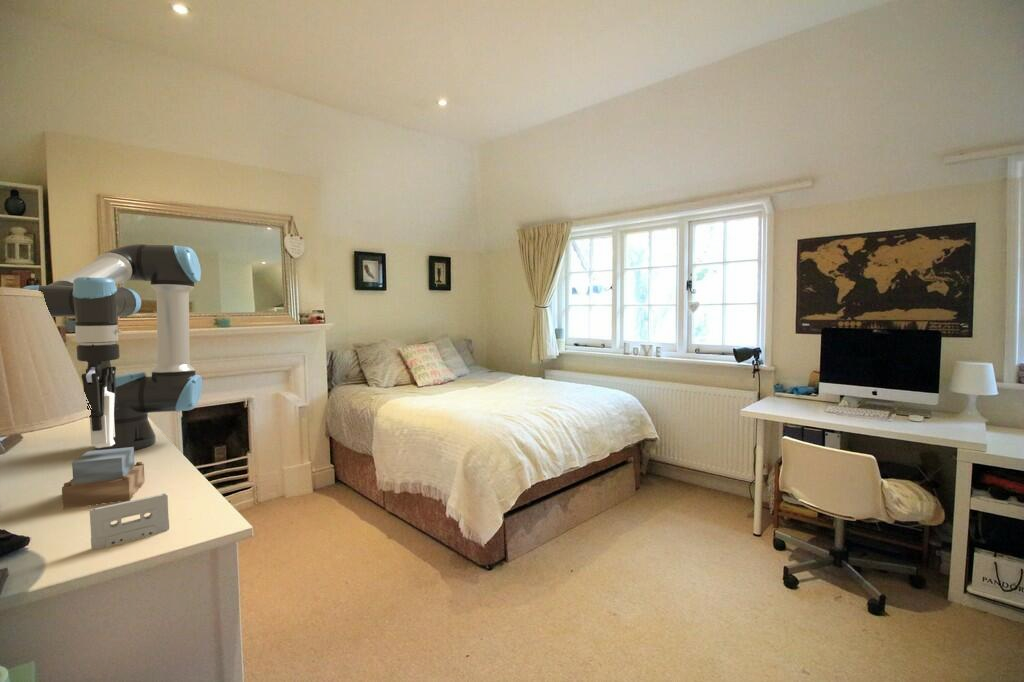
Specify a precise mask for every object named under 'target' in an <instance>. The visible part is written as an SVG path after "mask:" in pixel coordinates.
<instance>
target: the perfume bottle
mask: <svg viewBox="0 0 1024 682" xmlns="http://www.w3.org/2000/svg"><path fill="white" fill-rule="evenodd" d="M99 384H102V383H99ZM114 397H115V394H114V393H111V392H108V391H107V386H106V387H105V389H104V415H106V428H107V443H105V444H93V445H94V446H93V447H94V448H95V447H96V448H102V447H109V446H112V445H114V444H115V441H114V439H113V424H114ZM93 411H94V410H93ZM104 415H103V416H104Z"/></svg>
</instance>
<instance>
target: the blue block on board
mask: <svg viewBox="0 0 1024 682" xmlns="http://www.w3.org/2000/svg"><path fill="white" fill-rule="evenodd" d="M71 467H72V468H71V469H72V470H71V471H72V479H70V481H68V482H64V483H63V486H62V487H61V498H62V509H63V510H67V509H66V508H68V509H73V508H74V507H75V508H81V507H89V505H91V506H96V504H98V505H103V504H102V503H106V504H111V503H110V502H114V503H119V502H118V501H121V502H127V500H129V501H131V500H132V498H134V496H135V495H136V494H137V492H138V491H139V490H140V489H141V488H142V486H143V485H144V484H145V483H144V482H145V465H144V463H143V461H137V462H135V450H134V447H127V448H116V449H106V450H95V449H94V450H87V451H86V452H85V453H84V454H82V455H80V456H79V457H77V458H76V459H75V460H74V461H72V462H71ZM139 488H140V489H139ZM138 489H139V490H138ZM135 493H136V494H135ZM134 494H135V495H134ZM133 495H134V496H133ZM130 499H131V500H130ZM75 508H74V509H75Z"/></svg>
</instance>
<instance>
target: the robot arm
mask: <svg viewBox="0 0 1024 682" xmlns="http://www.w3.org/2000/svg"><path fill="white" fill-rule="evenodd" d="M201 278H202V270H201V264H200V261H199V258H198V256H197V254H196V252H195V250H193V248H191V247H189V246H181V245H176V244H175V245H170V244H169V245H167V244H166V245H165V244H143V243H140V244H139V243H137V244H135V243H134V244H128V245H123V246H120V247H116V248H113V249H110V250H107V251H104V252H103V253H101V254H99V255H98V256H96V257H95V259H94V260H93V262H91V263H90V264H87V265H86V266H84V267H81V268H80V269H78V270H76V271H74V272H71V273H69V274H68V275H65V276H63V277H62V278H59V279H58V280H56V281H54V282H52V283H49V284H48V285H40V284H36V285H26V286H24V287H22V288H21V289H30V290H38V291H41V292H43V294H44V298H45V302H46V305H47V307H48V310H49V312H50V314H51V316H52V317H54V318H55V317H56V318H57V317H58V318H59V317H66V318H67V317H71V318H74V320H75V322H74V323H75V325H74V327H75V328H74V329H75V342H76V343H77V346H76V359H77V361H79V362H87V366H86V367H87V368H86V369H85V373H82V374H81V380H82V384H83V386H82V387H83V393H84V392H85V394H86V397H87V399H88V401H89V403H87V404H88V406H89V404H90V405H91V408H92V409H91V408H90V406H89V408H90V410H91V415H90V416H89V417H86V418H89V425H90V427H89V428H90V444H91V445H94V444H105V443H107V428H106V415H104V389H105V387H106V386H107V391H108V392H111V393H114V394H115V397H114V424H113V439H114V441H115V444H114V445H112V446H109V447H102V448H96V447H94V451H95V450H106V449H116V448H127V447H134V451H135V450H141V449H143V448H147V447H150V446H151V445H154V444H156V441H157V440H156V433H155V431H154V429H153V426H152V425H151V423H150V421H149V415H148V414H149V413H164V412H165V413H167V412H177V413H179V412H184V411H186V412H187V411H191V410H194V409H195V408H196V407H197V406H198V404H199V403H200V399H201V396H202V392H203V377H202V376H201V375H199V374H196V368H194V367H193V366H192V365H191V361H190V359H191V358H190V357H191V355H190V354H191V353H190V292H192V291H193V290H194V289H195V283H198V282H201ZM128 281H139V282H142V281H143V282H150V287H151V288H152V289H153V290H155V291H156V343H157V344H156V345H157V346H156V348H157V349H156V351H157V353H156V354H157V366H156V367H154V369H152V370H151V376H147V374H146V372H145V371H136V372H128V373H123V374H122V373H121V374H117V375H116V370H117V367H116V366H112V364H111V361H115V360H118V359H119V358H120V357H121V356H120V345H119V343H117V342H118V341H119V334H121V331H122V330H121V328H119V323H118V321H119V320H118V318H127V317H130V316H133V315H135V314H136V313H138V312H139V311H140V309H141V306H142V299H141V297H140V295H139V293H137V292H136V291H135V290H133V289H132V288H129V287H125V286H117V285H116V284H118V285H119V284H123V283H126V282H128ZM52 317H51V318H52ZM99 383H102V384H99ZM86 401H87V400H86ZM88 406H87V409H88V410H89V408H88ZM93 410H94V411H93ZM103 415H104V416H103Z"/></svg>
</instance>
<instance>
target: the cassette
mask: <svg viewBox="0 0 1024 682" xmlns="http://www.w3.org/2000/svg"><path fill="white" fill-rule="evenodd" d="M168 501H169V500H168V494H167V493H161V494H157V495H152V496H148V497H147V496H146V497H142V498H138V499H131V500H129V501H121V502H117V503H112V504H110V505H105V506H100V507H99V506H98V507H94V508H91V509H89V522H90V524H89V525H90V545H91V549H92V550H97V549H98V550H99V549H102V548H106V547H112V546H115V545H119V544H124V543H127V542H132V541H135V540H140V539H143V538H148V537H150V536H154V535H158V534H160V533H163V532H167V530H168V531H169V530H170V520H169V519H170V518H169V502H168ZM146 514H149V515H146ZM138 515H139V518H136V519H133V520H128V521H124V522H123V521H122V519H125V518H128V517H133V516H138ZM114 521H116V523H113V522H114Z"/></svg>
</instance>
